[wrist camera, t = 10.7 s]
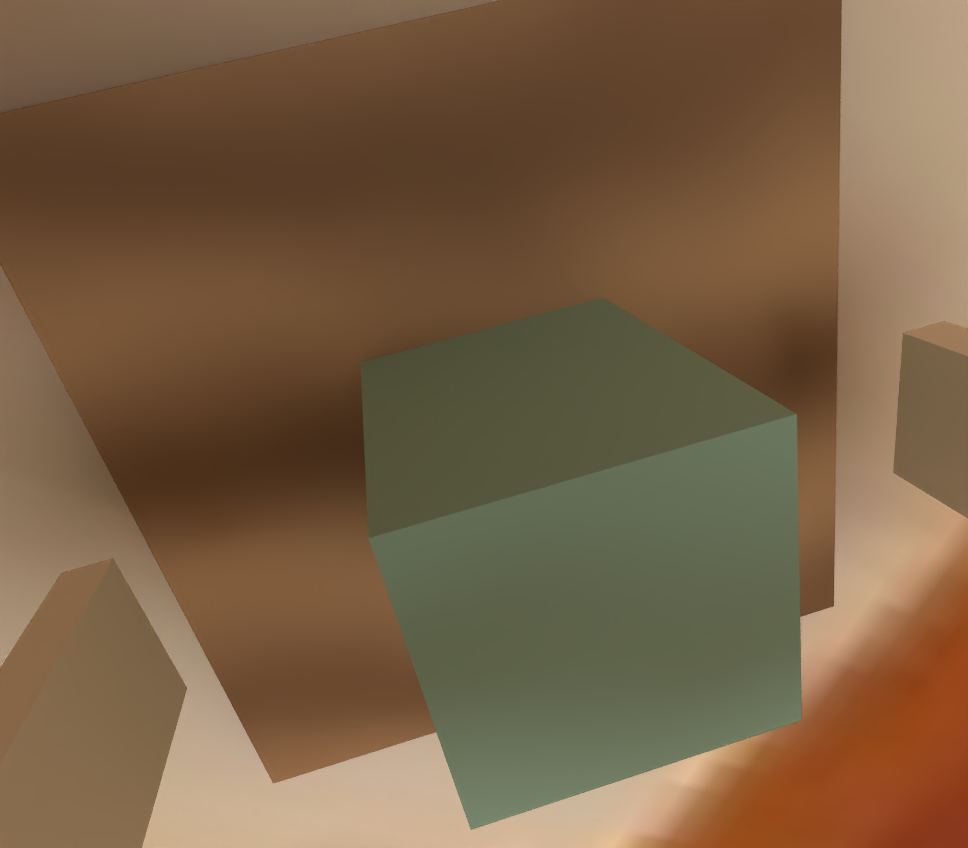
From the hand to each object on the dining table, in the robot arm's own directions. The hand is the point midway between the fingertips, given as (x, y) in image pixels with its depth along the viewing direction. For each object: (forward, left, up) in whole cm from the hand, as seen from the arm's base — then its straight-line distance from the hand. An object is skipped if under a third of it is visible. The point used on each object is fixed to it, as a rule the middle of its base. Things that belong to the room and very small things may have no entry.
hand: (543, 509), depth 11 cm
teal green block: (+1, 0, -4) cm, 4 cm away
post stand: (0, 0, -5) cm, 5 cm away
